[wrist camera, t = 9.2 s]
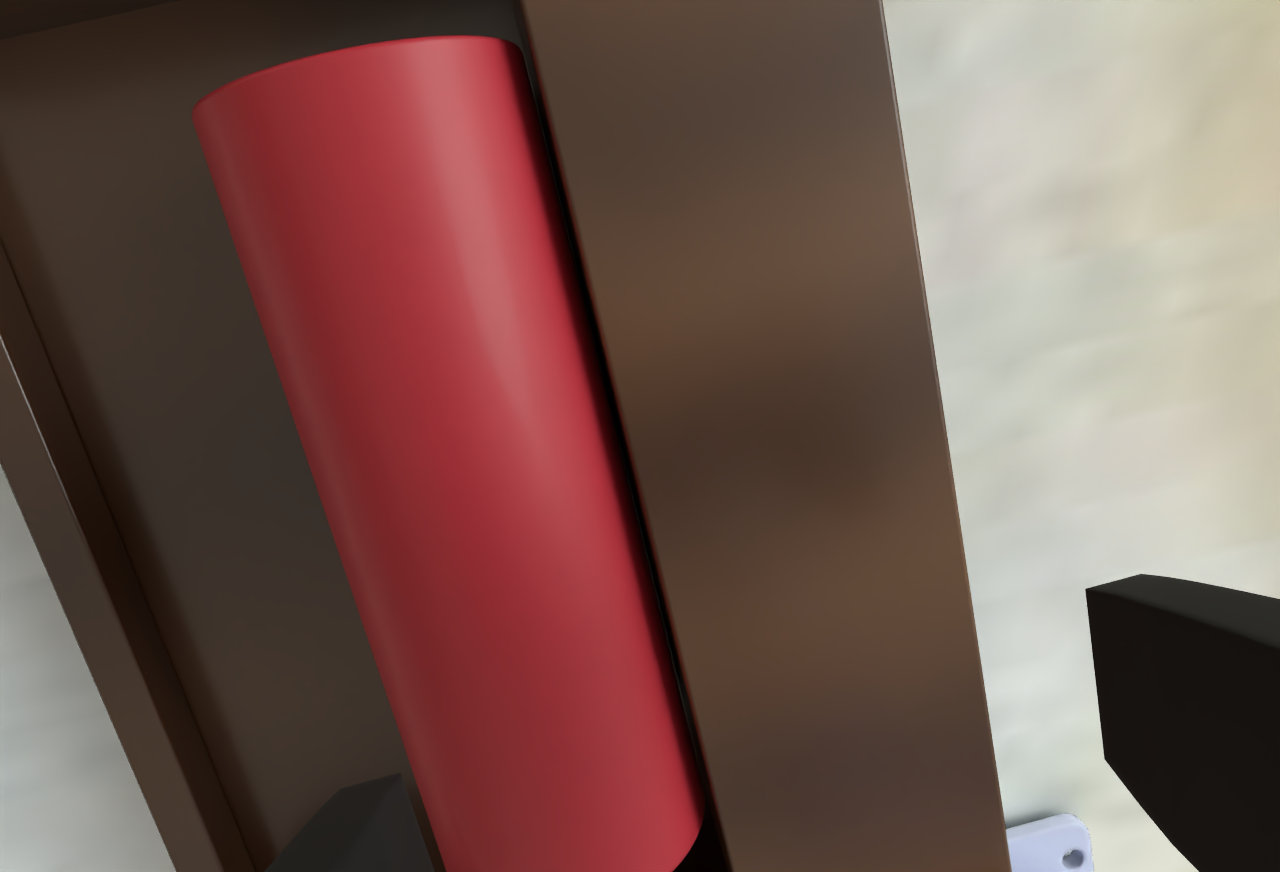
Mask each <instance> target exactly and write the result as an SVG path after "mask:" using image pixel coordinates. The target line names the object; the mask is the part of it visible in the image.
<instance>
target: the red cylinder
mask: <svg viewBox="0 0 1280 872" xmlns="http://www.w3.org/2000/svg"><path fill="white" fill-rule="evenodd" d="M192 121H193V124H194V127H195V129H196V132H197V135H198V138H199V141H200V144H201V147H202V150H203V153H204V156H205V159H206V162H207V165H208V168H209V171H210V174H211V177H212V180H213V183H214V186H215V189H216V192H217V195H218V197H219V200H220V203H221V206H222V209H223V212H224V215H225V218H226V221H227V224H228V227H229V230H230V233H231V236H232V239H233V242H234V245H235V248H236V251H237V254H238V257H239V260H240V263H241V265H242V268H243V271H244V274H245V277H246V280H247V283H248V286H249V289H250V292H251V295H252V298H253V301H254V304H255V307H256V310H257V313H258V316H259V319H260V322H261V325H262V328H263V331H264V333H265V336H266V339H267V342H268V345H269V348H270V351H271V354H272V357H273V360H274V363H275V366H276V369H277V372H278V375H279V378H280V381H281V384H282V387H283V390H284V393H285V396H286V399H287V401H288V404H289V407H290V410H291V413H292V416H293V419H294V422H295V425H296V428H297V431H298V434H299V437H300V440H301V443H302V446H303V449H304V452H305V455H306V458H307V461H308V464H309V467H310V469H311V472H312V475H313V478H314V481H315V484H316V487H317V490H318V493H319V496H320V499H321V502H322V505H323V508H324V511H325V514H326V517H327V520H328V523H329V526H330V529H331V532H332V535H333V537H334V540H335V543H336V546H337V549H338V552H339V555H340V558H341V561H342V564H343V567H344V570H345V573H346V576H347V579H348V582H349V585H350V588H351V591H352V594H353V597H354V600H355V603H356V605H357V608H358V611H359V614H360V617H361V620H362V623H363V626H364V629H365V632H366V635H367V638H368V641H369V644H370V647H371V650H372V653H373V656H374V659H375V662H376V665H377V668H378V671H379V673H380V676H381V679H382V682H383V685H384V688H385V691H386V694H387V697H388V700H389V703H390V706H391V709H392V712H393V715H394V718H395V721H396V724H397V727H398V730H399V733H400V736H401V739H402V741H403V744H404V747H405V750H406V753H407V756H408V759H409V762H410V765H411V768H412V771H413V774H414V777H415V780H416V783H417V786H418V789H419V792H420V795H421V798H422V801H423V804H424V807H425V809H426V812H427V815H428V818H429V821H430V824H431V827H432V830H433V833H434V836H435V839H436V842H437V845H438V848H439V851H440V854H441V857H442V860H443V863H444V866H445V869H446V872H673V871H674V870H675V868H676V867H677V866H678V865H679V864H680V863H681V862H682V860H683V859H684V858H685V856H686V855H687V854H688V852H689V851H690V849H691V847H692V846H693V844H694V842H695V840H696V838H697V836H698V833H699V831H700V828H701V825H702V821H703V816H704V811H705V795H704V790H703V785H702V781H701V777H700V773H699V769H698V765H697V761H696V757H695V753H694V748H693V744H692V740H691V736H690V732H689V728H688V724H687V720H686V716H685V712H684V708H683V704H682V700H681V695H680V691H679V687H678V683H677V679H676V675H675V671H674V667H673V663H672V659H671V655H670V651H669V647H668V642H667V638H666V634H665V630H664V626H663V622H662V618H661V614H660V610H659V606H658V602H657V598H656V594H655V589H654V585H653V581H652V577H651V573H650V569H649V565H648V561H647V557H646V553H645V549H644V545H643V541H642V536H641V532H640V528H639V524H638V520H637V516H636V512H635V508H634V504H633V500H632V496H631V492H630V488H629V483H628V479H627V475H626V471H625V467H624V463H623V459H622V455H621V451H620V447H619V443H618V439H617V435H616V430H615V426H614V422H613V418H612V414H611V410H610V406H609V402H608V398H607V394H606V390H605V386H604V382H603V377H602V373H601V369H600V365H599V361H598V357H597V353H596V349H595V345H594V341H593V337H592V333H591V329H590V324H589V320H588V316H587V312H586V308H585V304H584V300H583V296H582V292H581V288H580V284H579V280H578V276H577V271H576V267H575V263H574V259H573V255H572V251H571V247H570V243H569V239H568V235H567V231H566V227H565V223H564V218H563V214H562V210H561V206H560V202H559V198H558V194H557V190H556V186H555V182H554V178H553V174H552V170H551V165H550V161H549V157H548V153H547V149H546V145H545V141H544V137H543V133H542V129H541V125H540V121H539V117H538V112H537V108H536V104H535V100H534V96H533V92H532V88H531V84H530V80H529V76H528V72H527V68H526V64H525V59H524V55H523V53H522V51H521V49H520V48H519V47H518V46H517V45H516V44H515V43H512V42H510V41H508V40H504V39H499V38H494V37H485V36H472V35H445V36H429V37H417V38H407V39H398V40H391V41H384V42H377V43H371V44H365V45H359V46H353V47H348V48H343V49H338V50H334V51H329V52H324V53H320V54H316V55H312V56H308V57H303V58H300V59H296V60H293V61H289V62H285V63H282V64H278V65H275V66H272V67H269V68H266V69H263V70H260V71H257V72H254V73H252V74H249V75H246V76H243V77H241V78H239V79H236V80H234V81H232V82H229V83H227V84H225V85H223V86H221V87H219V88H218V89H216V90H214V91H212V92H210V93H209V94H207V95H206V96H204V97H203V98H202V99H200V100H199V101H198V102H197V103H196V104H195V105H194V108H193V110H192Z"/></svg>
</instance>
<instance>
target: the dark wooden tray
mask: <svg viewBox="0 0 1280 872" xmlns="http://www.w3.org/2000/svg"><path fill="white" fill-rule="evenodd" d="M445 35H472V36H485V37H494V38H499V39H504V40H508V41H510V42H512V43H515V44H516V45H517V46H518V47H519V48H520V49H521V51H522V53H523V55H524V59H525V64H526V68H527V72H528V76H529V80H530V84H531V88H532V92H533V96H534V100H535V104H536V108H537V112H538V117H539V121H540V125H541V129H542V133H543V137H544V141H545V145H546V149H547V153H548V157H549V161H550V165H551V170H552V174H553V178H554V182H555V186H556V190H557V194H558V198H559V202H560V206H561V210H562V214H563V218H564V223H565V227H566V231H567V235H568V239H569V243H570V247H571V251H572V255H573V259H574V263H575V267H576V271H577V276H578V280H579V284H580V288H581V292H582V296H583V300H584V304H585V308H586V312H587V316H588V320H589V324H590V329H591V333H592V337H593V341H594V345H595V349H596V353H597V357H598V361H599V365H600V369H601V373H602V377H603V382H604V386H605V390H606V394H607V398H608V402H609V406H610V410H611V414H612V418H613V422H614V426H615V430H616V435H617V439H618V443H619V447H620V451H621V455H622V459H623V463H624V467H625V471H626V475H627V479H628V483H629V488H630V492H631V496H632V500H633V504H634V508H635V512H636V516H637V520H638V524H639V528H640V532H641V536H642V541H643V545H644V549H645V553H646V557H647V561H648V565H649V569H650V573H651V577H652V581H653V585H654V589H655V594H656V598H657V602H658V606H659V610H660V614H661V618H662V622H663V626H664V630H665V634H666V638H667V642H668V647H669V651H670V655H671V659H672V663H673V667H674V671H675V675H676V679H677V683H678V687H679V691H680V695H681V700H682V704H683V708H684V712H685V716H686V720H687V724H688V728H689V732H690V736H691V740H692V744H693V748H694V753H695V757H696V761H697V765H698V769H699V773H700V777H701V781H702V785H703V790H704V795H705V811H704V816H703V821H702V825H701V828H700V831H699V833H698V836H697V838H696V840H695V842H694V844H693V846H692V847H691V849H690V851H689V852H688V854H687V855H686V856H685V858H684V859H683V860H682V862H681V863H680V864H679V865H678V866H677V867H676V868H675V870H674V871H673V872H1012V868H1011V862H1010V855H1009V848H1008V842H1007V835H1006V828H1005V821H1004V815H1003V808H1002V801H1001V795H1000V788H999V781H998V774H997V768H996V761H995V754H994V747H993V741H992V734H991V727H990V721H989V714H988V707H987V700H986V694H985V687H984V680H983V674H982V667H981V660H980V653H979V647H978V640H977V633H976V627H975V620H974V613H973V606H972V600H971V593H970V586H969V580H968V573H967V566H966V559H965V553H964V546H963V539H962V533H961V526H960V519H959V512H958V506H957V499H956V492H955V486H954V479H953V472H952V465H951V459H950V452H949V445H948V439H947V432H946V425H945V418H944V412H943V405H942V398H941V392H940V385H939V378H938V371H937V365H936V358H935V351H934V345H933V338H932V331H931V324H930V318H929V311H928V304H927V298H926V291H925V284H924V277H923V271H922V264H921V257H920V251H919V244H918V237H917V230H916V224H915V217H914V210H913V204H912V197H911V190H910V183H909V177H908V170H907V163H906V157H905V150H904V143H903V136H902V130H901V123H900V116H899V110H898V103H897V96H896V89H895V83H894V76H893V69H892V63H891V56H890V49H889V42H888V36H887V29H886V22H885V16H884V9H883V2H882V0H0V464H1V466H2V469H3V471H4V473H5V476H6V478H7V480H8V483H9V485H10V487H11V490H12V492H13V494H14V497H15V499H16V501H17V504H18V506H19V508H20V510H21V513H22V515H23V517H24V520H25V522H26V524H27V527H28V529H29V531H30V534H31V536H32V538H33V541H34V543H35V545H36V548H37V550H38V552H39V555H40V557H41V559H42V562H43V564H44V566H45V568H46V571H47V573H48V575H49V578H50V580H51V582H52V585H53V587H54V589H55V592H56V594H57V596H58V599H59V601H60V603H61V606H62V608H63V610H64V613H65V615H66V617H67V619H68V622H69V624H70V626H71V629H72V631H73V633H74V636H75V638H76V640H77V643H78V645H79V647H80V650H81V652H82V654H83V657H84V659H85V661H86V664H87V666H88V668H89V670H90V673H91V675H92V677H93V680H94V682H95V684H96V687H97V689H98V691H99V694H100V696H101V698H102V701H103V703H104V705H105V708H106V710H107V712H108V715H109V717H110V719H111V722H112V724H113V726H114V728H115V731H116V733H117V735H118V738H119V740H120V742H121V745H122V747H123V749H124V752H125V754H126V756H127V759H128V761H129V763H130V766H131V768H132V770H133V773H134V775H135V777H136V779H137V782H138V784H139V786H140V789H141V791H142V793H143V796H144V798H145V800H146V803H147V805H148V807H149V810H150V812H151V814H152V817H153V819H154V821H155V824H156V826H157V828H158V831H159V833H160V835H161V837H162V840H163V842H164V844H165V847H166V849H167V851H168V854H169V856H170V858H171V861H172V863H173V865H174V868H175V870H176V872H264V871H265V870H266V869H267V868H268V867H269V865H270V864H271V863H272V862H273V861H274V860H275V859H276V857H277V856H278V855H279V854H280V853H281V852H282V851H283V850H284V848H285V847H286V846H287V845H288V844H289V843H290V842H291V840H292V839H293V838H294V837H295V836H296V835H297V834H298V833H299V831H300V830H301V829H302V828H303V827H304V826H305V825H306V824H307V823H308V821H309V820H310V819H311V818H312V817H313V816H314V815H315V814H316V813H317V812H318V811H319V809H320V808H321V807H322V806H323V805H324V804H325V803H326V802H327V801H328V800H329V799H330V798H331V797H332V796H333V795H334V794H335V793H336V792H337V791H338V790H340V789H341V788H345V787H348V786H352V785H356V784H359V783H363V782H367V781H371V780H374V779H378V778H382V777H386V776H389V775H393V774H397V773H401V775H402V778H403V781H404V784H405V787H406V790H407V793H408V795H409V798H410V801H411V804H412V807H413V810H414V813H415V816H416V819H417V822H418V825H419V827H420V830H421V833H422V836H423V839H424V842H425V845H426V848H427V851H428V854H429V857H430V859H431V862H432V865H433V868H434V871H435V872H446V869H445V866H444V863H443V860H442V857H441V854H440V851H439V848H438V845H437V842H436V839H435V836H434V833H433V830H432V827H431V824H430V821H429V818H428V815H427V812H426V809H425V807H424V804H423V801H422V798H421V795H420V792H419V789H418V786H417V783H416V780H415V777H414V774H413V771H412V768H411V765H410V762H409V759H408V756H407V753H406V750H405V747H404V744H403V741H402V739H401V736H400V733H399V730H398V727H397V724H396V721H395V718H394V715H393V712H392V709H391V706H390V703H389V700H388V697H387V694H386V691H385V688H384V685H383V682H382V679H381V676H380V673H379V671H378V668H377V665H376V662H375V659H374V656H373V653H372V650H371V647H370V644H369V641H368V638H367V635H366V632H365V629H364V626H363V623H362V620H361V617H360V614H359V611H358V608H357V605H356V603H355V600H354V597H353V594H352V591H351V588H350V585H349V582H348V579H347V576H346V573H345V570H344V567H343V564H342V561H341V558H340V555H339V552H338V549H337V546H336V543H335V540H334V537H333V535H332V532H331V529H330V526H329V523H328V520H327V517H326V514H325V511H324V508H323V505H322V502H321V499H320V496H319V493H318V490H317V487H316V484H315V481H314V478H313V475H312V472H311V469H310V467H309V464H308V461H307V458H306V455H305V452H304V449H303V446H302V443H301V440H300V437H299V434H298V431H297V428H296V425H295V422H294V419H293V416H292V413H291V410H290V407H289V404H288V401H287V399H286V396H285V393H284V390H283V387H282V384H281V381H280V378H279V375H278V372H277V369H276V366H275V363H274V360H273V357H272V354H271V351H270V348H269V345H268V342H267V339H266V336H265V333H264V331H263V328H262V325H261V322H260V319H259V316H258V313H257V310H256V307H255V304H254V301H253V298H252V295H251V292H250V289H249V286H248V283H247V280H246V277H245V274H244V271H243V268H242V265H241V263H240V260H239V257H238V254H237V251H236V248H235V245H234V242H233V239H232V236H231V233H230V230H229V227H228V224H227V221H226V218H225V215H224V212H223V209H222V206H221V203H220V200H219V197H218V195H217V192H216V189H215V186H214V183H213V180H212V177H211V174H210V171H209V168H208V165H207V162H206V159H205V156H204V153H203V150H202V147H201V144H200V141H199V138H198V135H197V132H196V129H195V127H194V124H193V121H192V110H193V108H194V105H195V104H196V103H197V102H198V101H199V100H200V99H202V98H203V97H204V96H206V95H207V94H209V93H210V92H212V91H214V90H216V89H218V88H219V87H221V86H223V85H225V84H227V83H229V82H232V81H234V80H236V79H239V78H241V77H243V76H246V75H249V74H252V73H254V72H257V71H260V70H263V69H266V68H269V67H272V66H275V65H278V64H282V63H285V62H289V61H293V60H296V59H300V58H303V57H308V56H312V55H316V54H320V53H324V52H329V51H334V50H338V49H343V48H348V47H353V46H359V45H365V44H371V43H377V42H384V41H391V40H398V39H407V38H417V37H429V36H445Z"/></svg>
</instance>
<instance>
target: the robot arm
mask: <svg viewBox="0 0 1280 872" xmlns="http://www.w3.org/2000/svg"><path fill="white" fill-rule="evenodd" d="M1085 590H1086V599H1087V607H1088V616H1089V625H1090V634H1091V643H1092V652H1093V660H1094V669H1095V678H1096V687H1097V696H1098V705H1099V713H1100V722H1101V731H1102V740H1103V749H1104V757H1105V760H1106V761H1107V763H1108V764H1109V765H1110V767H1111V768H1112V769H1113V771H1114V772H1115V773H1116V774H1117V776H1118V777H1119V778H1120V780H1121V781H1122V782H1123V784H1124V785H1125V786H1126V787H1127V789H1128V790H1129V791H1130V793H1131V794H1132V795H1133V797H1134V798H1135V799H1136V800H1137V802H1138V803H1139V804H1140V806H1141V807H1142V808H1143V809H1144V810H1145V812H1146V813H1147V814H1148V815H1149V817H1150V818H1151V819H1152V820H1153V821H1154V823H1155V824H1156V825H1157V826H1158V827H1159V829H1160V830H1161V831H1162V832H1163V833H1164V835H1165V836H1166V837H1167V838H1168V840H1169V841H1170V842H1171V843H1172V844H1173V845H1174V846H1175V847H1176V848H1177V850H1178V851H1179V852H1180V853H1181V854H1182V855H1183V856H1184V857H1185V858H1186V859H1187V860H1188V861H1189V862H1190V863H1191V864H1192V865H1193V866H1194V867H1195V868H1196V869H1197V870H1198V871H1199V872H1280V599H1276V598H1271V597H1267V596H1262V595H1257V594H1253V593H1248V592H1244V591H1239V590H1234V589H1229V588H1224V587H1219V586H1214V585H1209V584H1204V583H1199V582H1194V581H1188V580H1182V579H1176V578H1170V577H1163V576H1155V575H1146V574H1140V575H1136V576H1132V577H1128V578H1125V579H1121V580H1117V581H1113V582H1110V583H1106V584H1102V585H1098V586H1095V587H1091V588H1087V589H1085ZM1006 835H1007V842H1008V848H1009V855H1010V862H1011V868H1012V872H1094V865H1093V857H1092V849H1091V841H1090V834H1089V831H1088V828H1087V827H1086V826H1085V825H1084V824H1083V823H1082V822H1081V821H1080V820H1079V819H1078V818H1077V817H1076V816H1075V815H1072V814H1068V813H1065V814H1058V815H1055V816H1051V817H1048V818H1044V819H1041V820H1037V821H1033V822H1030V823H1026V824H1023V825H1019V826H1016V827H1012V828H1008V829H1006ZM1071 850H1073V851H1072V852H1071V853H1070V855H1068V856H1066V857H1064V855H1065V854H1066V853H1067V852H1069V851H1071ZM264 872H435V871H434V868H433V865H432V862H431V859H430V857H429V854H428V851H427V848H426V845H425V842H424V839H423V836H422V833H421V830H420V827H419V825H418V822H417V819H416V816H415V813H414V810H413V807H412V804H411V801H410V798H409V795H408V793H407V790H406V787H405V784H404V781H403V778H402V775H401V773H397V774H393V775H389V776H386V777H382V778H378V779H374V780H371V781H367V782H363V783H359V784H356V785H352V786H348V787H345V788H341V789H340V790H338V791H337V792H336V793H335V794H334V795H333V796H332V797H331V798H330V799H329V800H328V801H327V802H326V803H325V804H324V805H323V806H322V807H321V808H320V809H319V811H318V812H317V813H316V814H315V815H314V816H313V817H312V818H311V819H310V820H309V821H308V823H307V824H306V825H305V826H304V827H303V828H302V829H301V830H300V831H299V833H298V834H297V835H296V836H295V837H294V838H293V839H292V840H291V842H290V843H289V844H288V845H287V846H286V847H285V848H284V850H283V851H282V852H281V853H280V854H279V855H278V856H277V857H276V859H275V860H274V861H273V862H272V863H271V864H270V865H269V867H268V868H267V869H266V870H265V871H264Z"/></svg>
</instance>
